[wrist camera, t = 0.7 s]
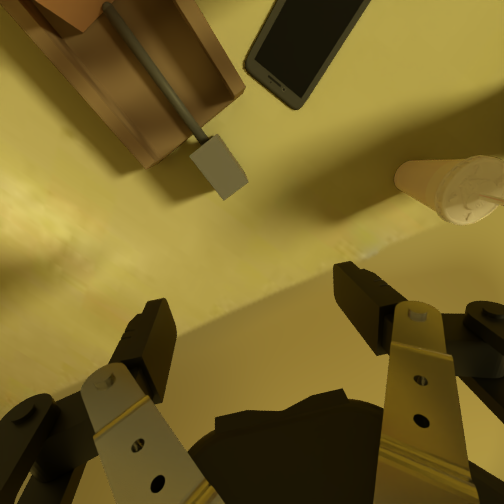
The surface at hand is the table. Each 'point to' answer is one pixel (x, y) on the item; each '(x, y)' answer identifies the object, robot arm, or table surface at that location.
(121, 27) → the block
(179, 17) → the wooden crate
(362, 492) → the robot arm
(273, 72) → the cell phone
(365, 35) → the table surface
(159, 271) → the table surface
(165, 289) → the table surface
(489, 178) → the smoothie
